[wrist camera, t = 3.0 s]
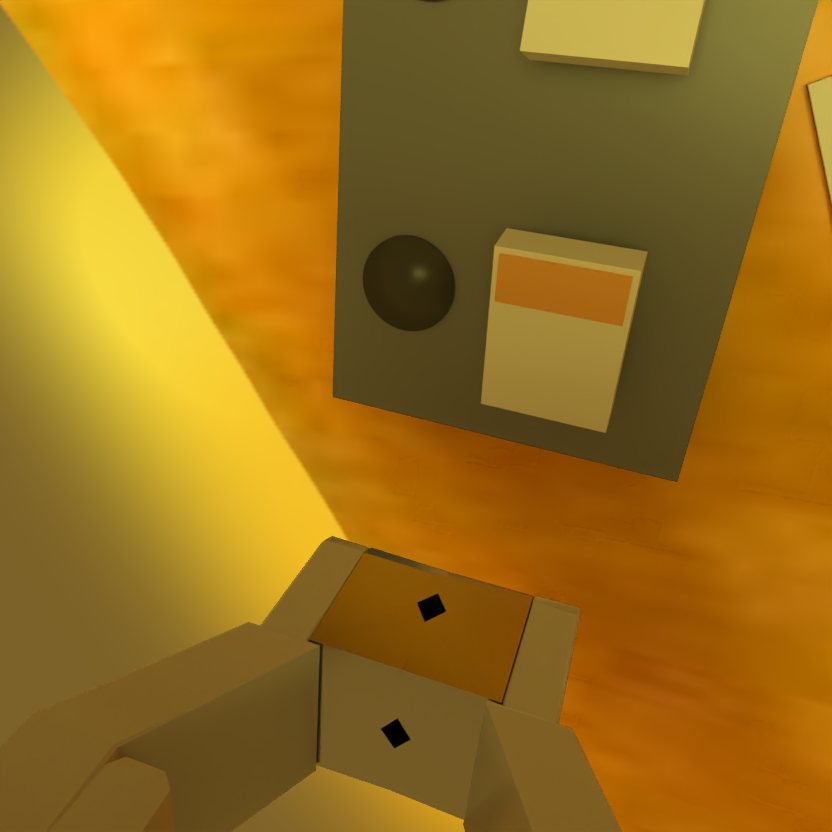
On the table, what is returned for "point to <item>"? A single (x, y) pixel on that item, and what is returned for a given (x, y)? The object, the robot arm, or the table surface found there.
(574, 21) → the rocker
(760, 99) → the rocker switch panel
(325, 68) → the table surface
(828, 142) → the photo frame
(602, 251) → the rocker
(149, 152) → the table surface
